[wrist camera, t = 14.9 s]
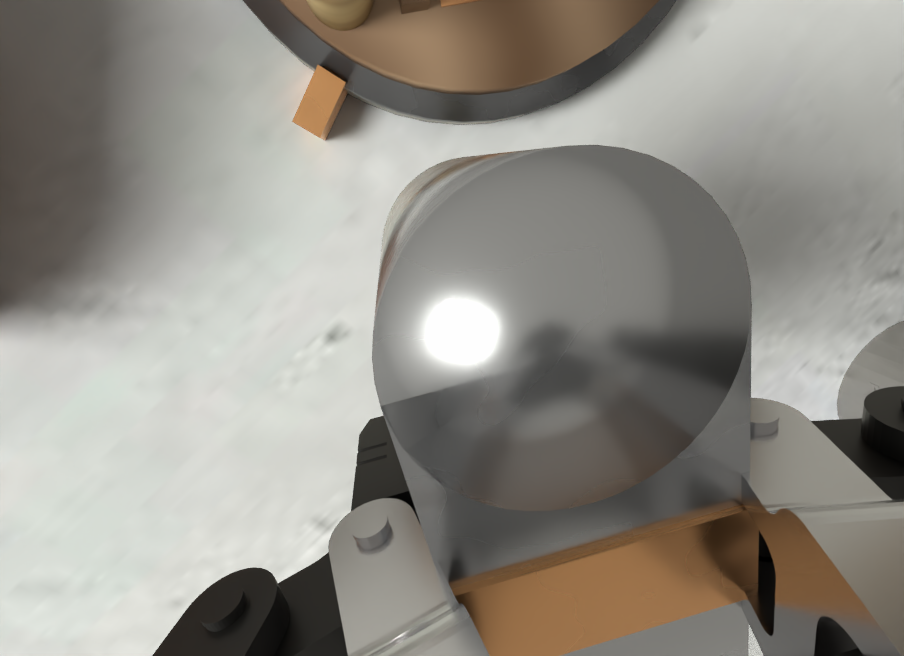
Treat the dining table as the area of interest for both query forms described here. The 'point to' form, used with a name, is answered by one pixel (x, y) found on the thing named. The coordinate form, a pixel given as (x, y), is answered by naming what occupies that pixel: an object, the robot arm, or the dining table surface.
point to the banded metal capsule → (573, 399)
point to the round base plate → (346, 76)
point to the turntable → (468, 38)
